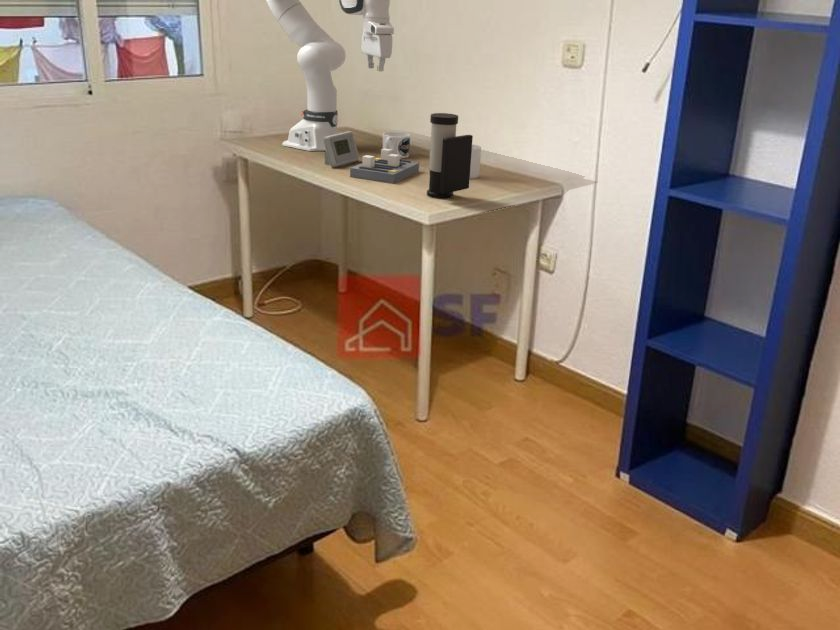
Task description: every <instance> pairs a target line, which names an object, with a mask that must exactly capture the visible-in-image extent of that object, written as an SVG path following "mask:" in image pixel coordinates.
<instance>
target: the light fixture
mask: <svg viewBox="0 0 840 630" xmlns="http://www.w3.org/2000/svg"><path fill="white" fill-rule="evenodd" d="M429 122H430V123H431V124H430V126H431V128H430V130H431V131H430V145H429V146H430V147H429V165H428V169H429V186H428V190H426V196H427V197H430V198H433V199H451V198H452V197H453V196H454V193H456V192H460V191H464V190H468V189H470V180H471V179H470V166H471V153H472V145H473V138H474V136H473V135H472V134H463V135H457V125H458V123H459V115H457V114H454V113H446V112H435V113H431V114H430V119H429Z"/></svg>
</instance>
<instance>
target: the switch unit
mask: <svg viewBox="0 0 840 630" xmlns="http://www.w3.org/2000/svg"><path fill="white" fill-rule="evenodd" d="M419 172H420V162H413V161H411V160H406V159H402V158H400V161H399V166H389V165H388V160H381V156H380V157H379V156H378V157H375V162H374V167H372V168H368V167H362V163H359V164H357V165H354V166H352V167H351V166H350V167H349V177H350V178H357V179H363V180H367V181H368V180H369V181H375V182H380V183H381V182H382V183H387V184H395V183H397V182H399V181H402V180H404V179H405V178H408V177H410V176H413V175H415V174H416V173H419Z"/></svg>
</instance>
